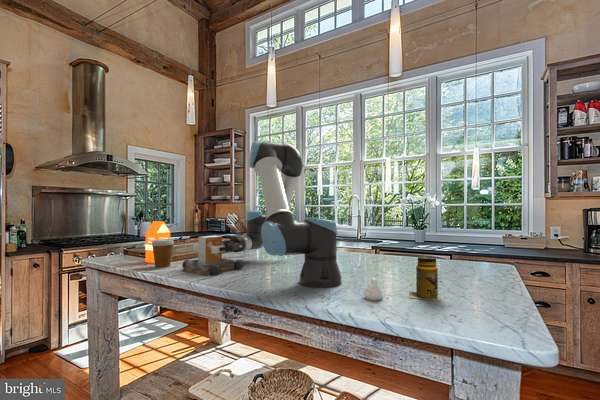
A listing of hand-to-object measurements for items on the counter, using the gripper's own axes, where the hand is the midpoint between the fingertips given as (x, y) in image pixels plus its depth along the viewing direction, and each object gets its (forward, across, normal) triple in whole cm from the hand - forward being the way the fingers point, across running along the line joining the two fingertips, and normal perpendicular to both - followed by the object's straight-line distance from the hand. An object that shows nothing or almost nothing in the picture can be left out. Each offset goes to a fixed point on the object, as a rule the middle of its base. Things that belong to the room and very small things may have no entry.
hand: (202, 249), depth 129 cm
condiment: (-16, -85, -10) cm, 87 cm away
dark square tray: (-6, 0, -10) cm, 11 cm away
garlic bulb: (-5, -73, -10) cm, 74 cm away
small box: (-4, 0, -8) cm, 9 cm away
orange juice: (-3, +38, -10) cm, 39 cm away
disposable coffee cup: (+3, +24, -10) cm, 26 cm away
